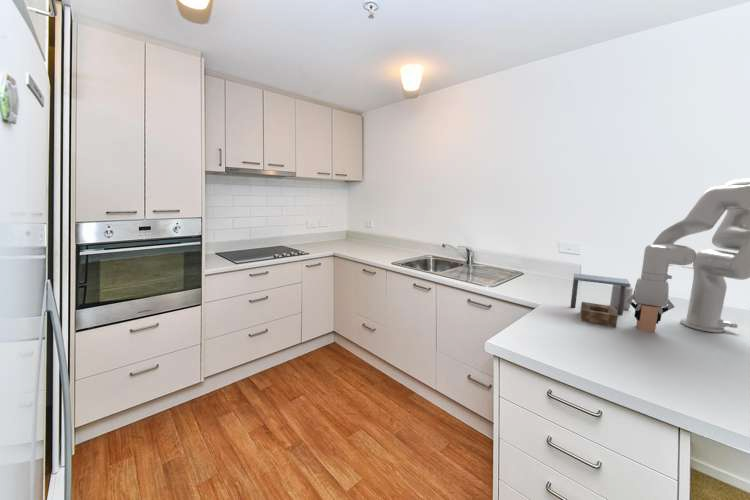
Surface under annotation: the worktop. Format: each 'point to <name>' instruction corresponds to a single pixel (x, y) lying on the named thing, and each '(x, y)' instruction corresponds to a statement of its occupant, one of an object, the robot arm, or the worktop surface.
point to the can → (616, 295)
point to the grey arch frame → (604, 280)
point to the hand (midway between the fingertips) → (646, 320)
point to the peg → (648, 318)
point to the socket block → (598, 314)
